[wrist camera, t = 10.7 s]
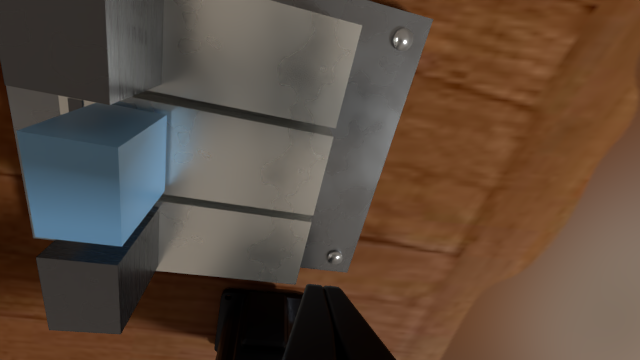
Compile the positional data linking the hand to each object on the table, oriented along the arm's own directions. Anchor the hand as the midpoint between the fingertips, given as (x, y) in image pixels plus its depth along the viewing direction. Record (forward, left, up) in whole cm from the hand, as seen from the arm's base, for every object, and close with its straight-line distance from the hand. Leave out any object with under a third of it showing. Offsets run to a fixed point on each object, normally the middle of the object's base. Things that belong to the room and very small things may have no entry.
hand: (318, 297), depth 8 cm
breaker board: (0, +4, -12) cm, 13 cm away
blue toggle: (0, +7, -7) cm, 10 cm away
